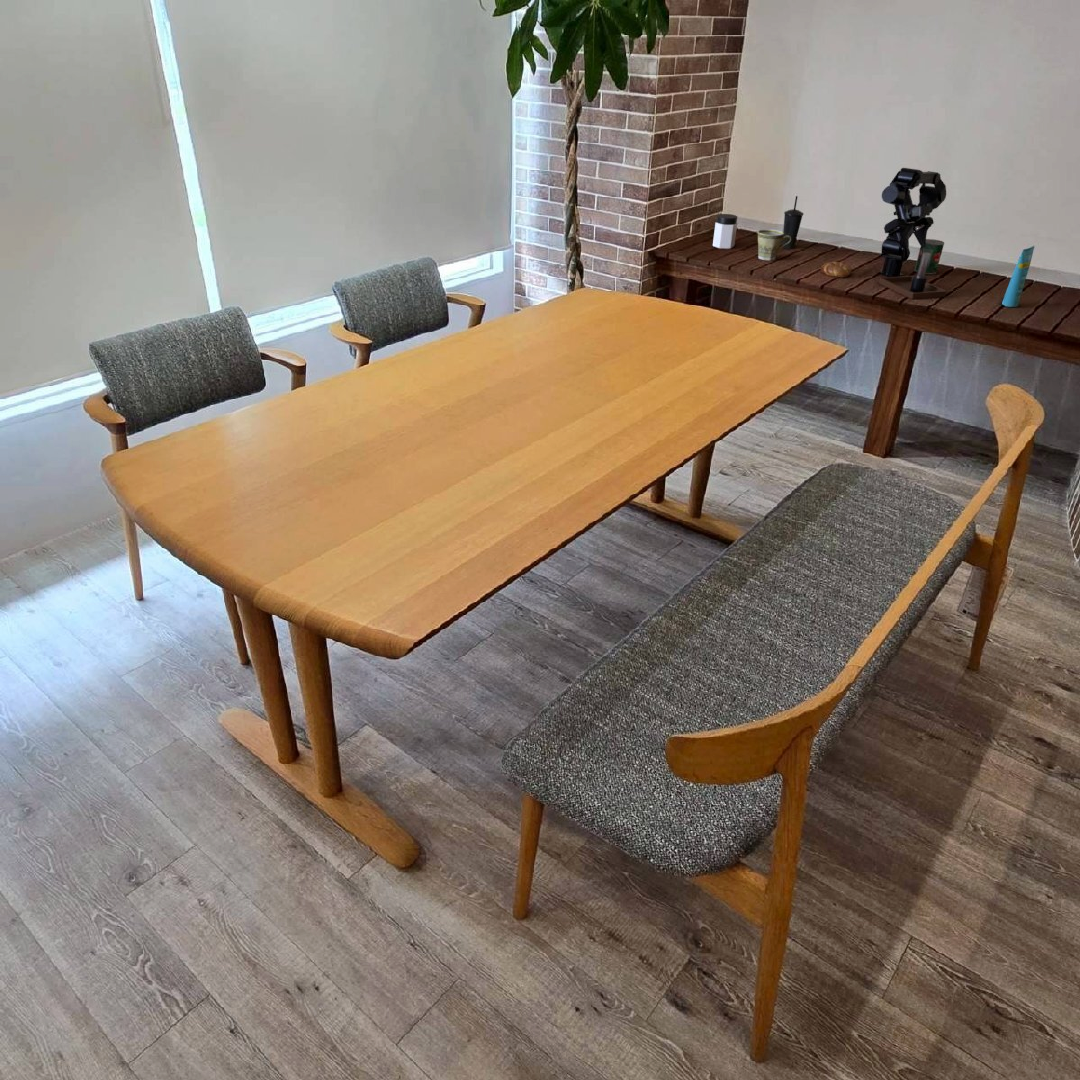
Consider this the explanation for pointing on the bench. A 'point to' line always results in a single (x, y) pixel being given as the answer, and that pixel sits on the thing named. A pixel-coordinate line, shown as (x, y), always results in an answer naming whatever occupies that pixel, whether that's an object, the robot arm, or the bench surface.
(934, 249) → the canned tomato
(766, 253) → the ceramic cup
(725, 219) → the jar
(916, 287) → the dark cylinder
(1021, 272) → the tube
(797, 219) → the drinking cup
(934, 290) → the tray
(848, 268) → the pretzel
